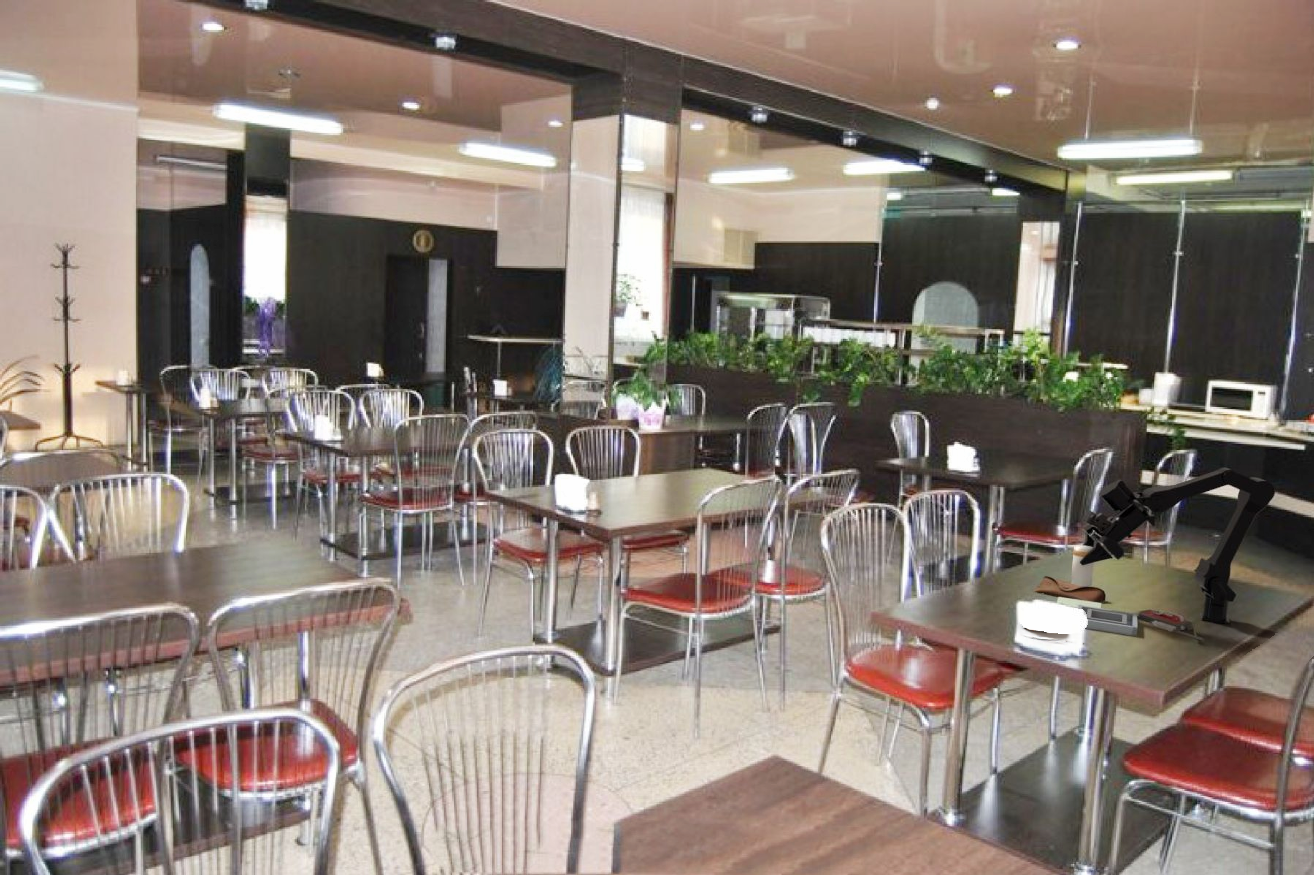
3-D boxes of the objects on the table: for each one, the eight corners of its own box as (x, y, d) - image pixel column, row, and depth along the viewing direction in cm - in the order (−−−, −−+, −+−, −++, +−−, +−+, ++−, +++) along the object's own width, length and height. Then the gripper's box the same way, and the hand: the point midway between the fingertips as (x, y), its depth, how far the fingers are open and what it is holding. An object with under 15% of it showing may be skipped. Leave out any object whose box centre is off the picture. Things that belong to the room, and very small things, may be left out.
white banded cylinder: (1077, 580, 273) (1080, 544, 272) (1095, 584, 269) (1099, 548, 268) (1066, 582, 270) (1070, 546, 269) (1085, 587, 266) (1088, 550, 265)
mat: (1058, 600, 278) (1058, 596, 278) (1101, 606, 273) (1101, 603, 273) (1055, 610, 268) (1055, 606, 268) (1100, 617, 263) (1100, 613, 263)
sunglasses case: (1030, 591, 286) (1037, 569, 287) (1037, 599, 290) (1044, 578, 292) (1094, 606, 273) (1101, 583, 275) (1101, 614, 278) (1108, 592, 280)
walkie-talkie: (1126, 623, 260) (1200, 646, 243) (1128, 606, 260) (1202, 629, 243) (1147, 619, 265) (1221, 642, 248) (1149, 602, 264) (1223, 624, 247)
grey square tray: (1077, 616, 263) (1078, 604, 263) (1135, 625, 257) (1137, 613, 257) (1074, 630, 251) (1075, 618, 250) (1136, 640, 245) (1137, 628, 244)
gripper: (1094, 495, 275) (1049, 532, 278) (1115, 507, 257) (1066, 547, 260) (1121, 525, 275) (1076, 561, 278) (1144, 540, 257) (1095, 578, 260)
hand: (1078, 561), depth 269 cm, fingers closed on white banded cylinder, 5 cm apart
